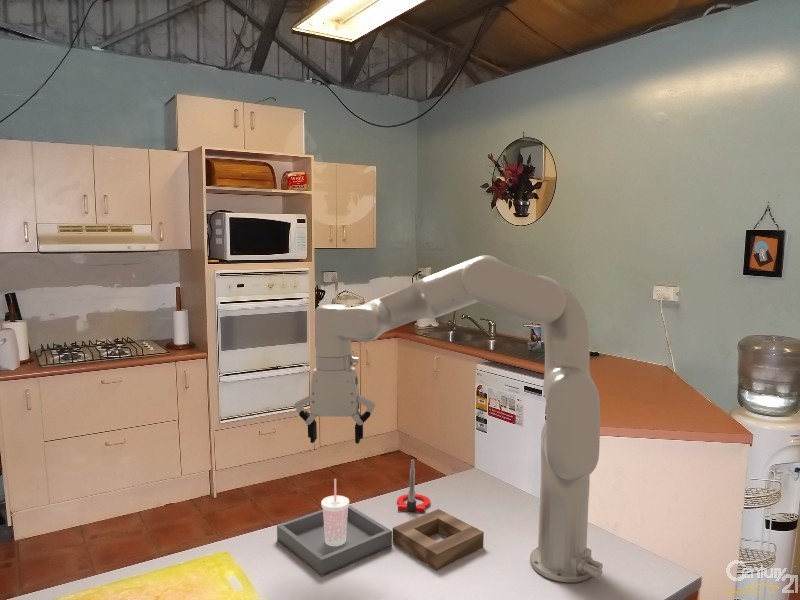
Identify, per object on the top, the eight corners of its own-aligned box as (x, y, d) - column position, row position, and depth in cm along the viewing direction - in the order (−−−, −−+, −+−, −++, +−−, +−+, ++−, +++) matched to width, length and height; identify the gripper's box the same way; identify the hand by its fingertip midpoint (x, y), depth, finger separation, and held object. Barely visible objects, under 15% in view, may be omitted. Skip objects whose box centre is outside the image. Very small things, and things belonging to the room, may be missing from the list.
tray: (391, 546, 126) (392, 530, 126) (321, 576, 114) (321, 559, 114) (344, 515, 140) (344, 501, 139) (277, 540, 128) (276, 525, 128)
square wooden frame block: (483, 547, 126) (483, 532, 125) (436, 570, 117) (437, 554, 116) (438, 523, 136) (438, 508, 136) (392, 542, 127) (392, 527, 127)
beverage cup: (339, 530, 131) (338, 471, 130) (355, 541, 126) (355, 479, 125) (316, 539, 127) (315, 478, 126) (331, 551, 122) (331, 487, 121)
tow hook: (399, 496, 151) (393, 511, 142) (400, 448, 150) (395, 459, 141) (431, 499, 150) (428, 514, 141) (433, 450, 149) (429, 462, 140)
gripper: (376, 359, 126) (377, 435, 127) (298, 359, 127) (300, 434, 129) (372, 366, 118) (373, 448, 120) (289, 366, 120) (291, 446, 121)
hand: (335, 441), depth 124 cm, fingers open, 9 cm apart
